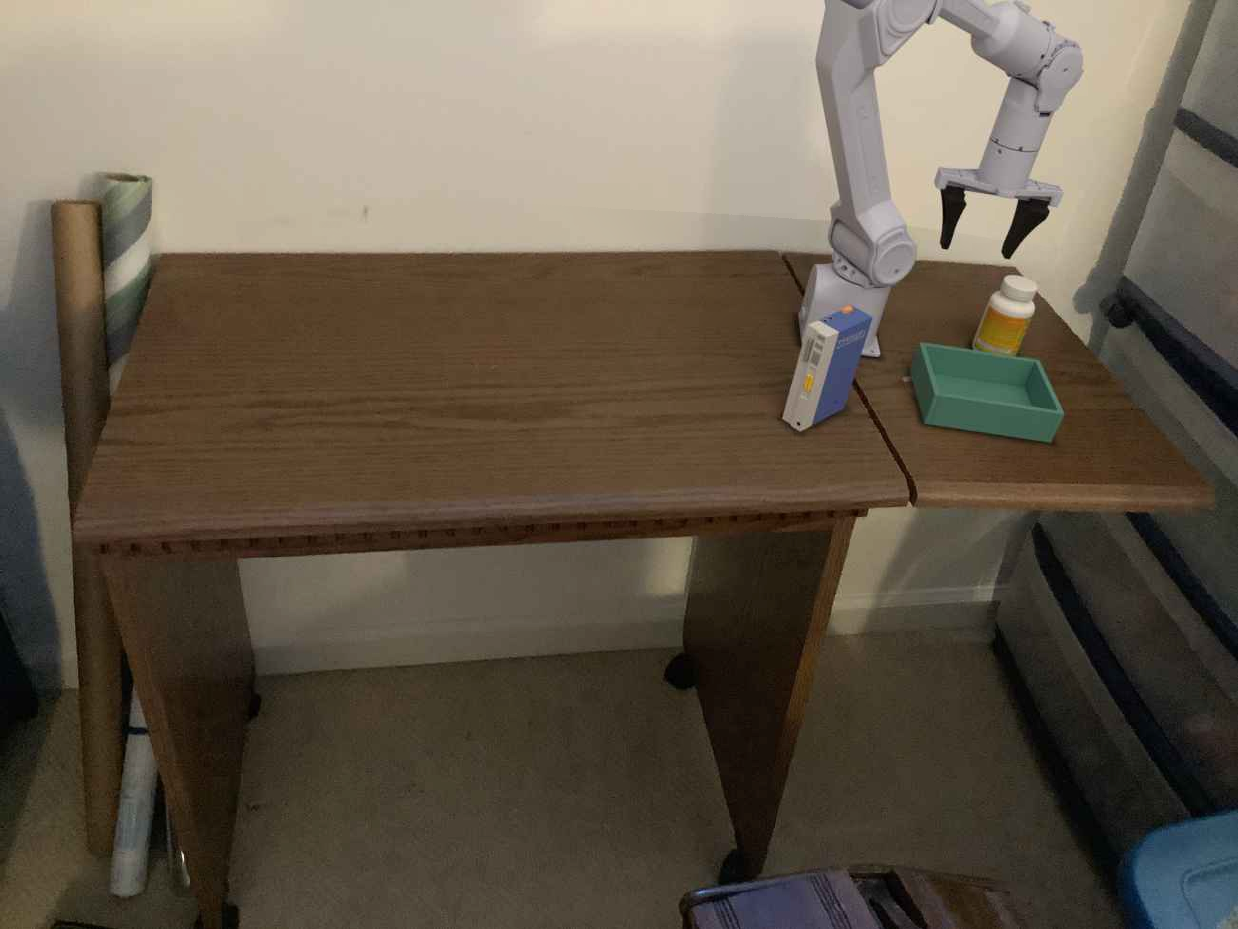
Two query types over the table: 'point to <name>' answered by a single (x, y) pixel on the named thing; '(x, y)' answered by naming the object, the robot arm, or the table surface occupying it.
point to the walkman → (826, 367)
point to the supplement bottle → (1006, 317)
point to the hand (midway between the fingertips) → (974, 250)
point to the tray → (985, 392)
